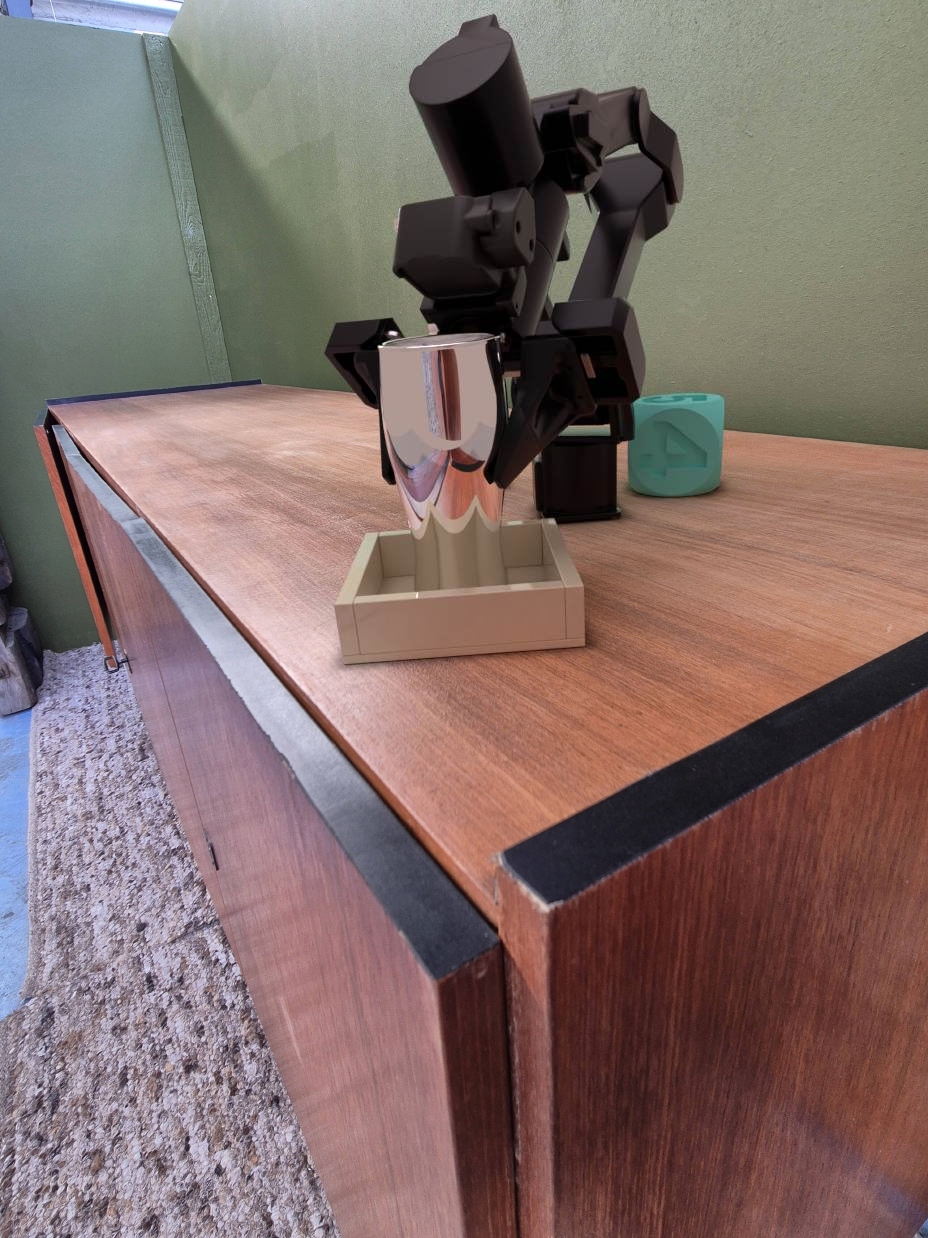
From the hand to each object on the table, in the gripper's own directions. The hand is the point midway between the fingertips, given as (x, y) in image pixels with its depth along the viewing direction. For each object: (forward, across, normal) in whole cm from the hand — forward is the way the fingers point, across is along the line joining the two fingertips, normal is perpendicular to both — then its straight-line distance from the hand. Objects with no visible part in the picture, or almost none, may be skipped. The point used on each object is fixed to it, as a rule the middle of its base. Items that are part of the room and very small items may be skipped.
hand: (441, 483), depth 40 cm
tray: (+5, 0, +7) cm, 8 cm away
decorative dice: (-18, +6, +30) cm, 35 cm away
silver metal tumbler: (+4, 0, +7) cm, 8 cm away
